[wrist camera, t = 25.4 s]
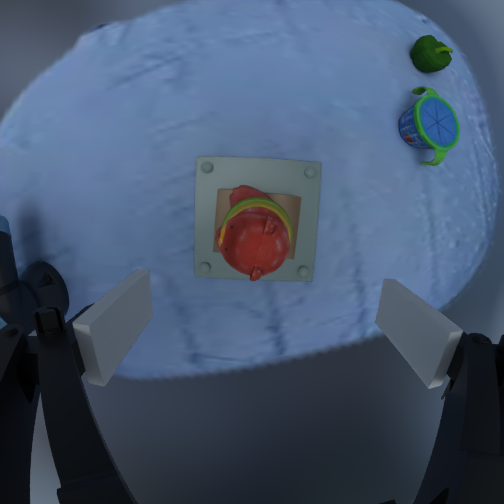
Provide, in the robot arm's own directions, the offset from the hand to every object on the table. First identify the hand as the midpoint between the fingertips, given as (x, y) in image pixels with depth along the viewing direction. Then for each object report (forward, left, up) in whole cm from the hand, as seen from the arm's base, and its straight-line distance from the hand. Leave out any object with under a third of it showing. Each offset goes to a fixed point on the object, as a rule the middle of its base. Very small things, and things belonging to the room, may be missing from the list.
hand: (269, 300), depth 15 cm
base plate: (0, 0, -37) cm, 37 cm away
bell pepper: (+35, +39, -37) cm, 64 cm away
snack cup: (+31, +21, -37) cm, 53 cm away
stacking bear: (-1, 0, -30) cm, 30 cm away
